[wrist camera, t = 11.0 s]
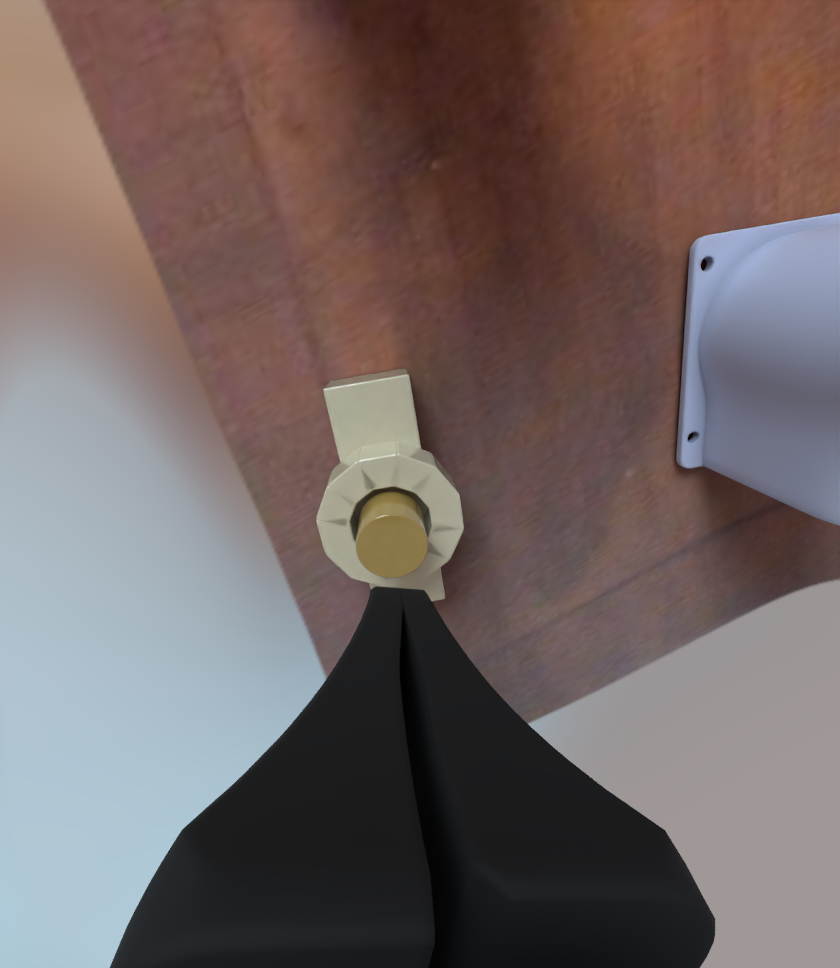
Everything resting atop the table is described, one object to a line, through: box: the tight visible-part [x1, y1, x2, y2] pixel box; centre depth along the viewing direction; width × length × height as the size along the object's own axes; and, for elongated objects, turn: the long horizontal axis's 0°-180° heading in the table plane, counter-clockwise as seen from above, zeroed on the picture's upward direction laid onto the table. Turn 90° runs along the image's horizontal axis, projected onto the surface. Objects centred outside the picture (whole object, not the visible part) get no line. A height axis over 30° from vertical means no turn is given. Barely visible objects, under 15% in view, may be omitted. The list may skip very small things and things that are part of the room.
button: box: [356, 492, 428, 578], centre depth 15 cm, size 2×2×2 cm
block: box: [316, 368, 464, 601], centre depth 18 cm, size 10×5×4 cm, turn 9°
